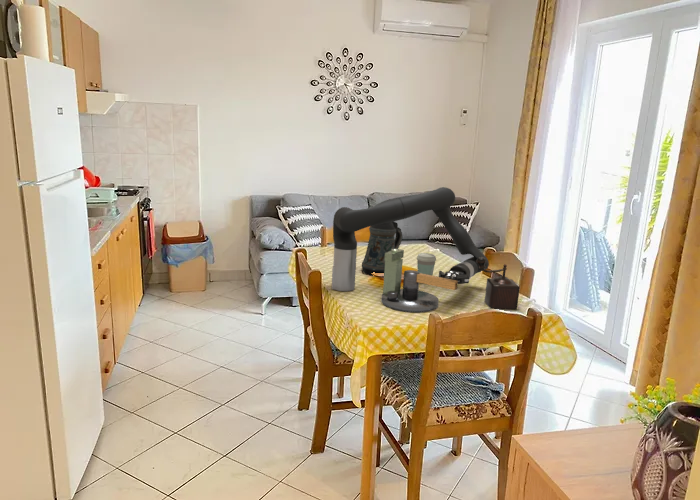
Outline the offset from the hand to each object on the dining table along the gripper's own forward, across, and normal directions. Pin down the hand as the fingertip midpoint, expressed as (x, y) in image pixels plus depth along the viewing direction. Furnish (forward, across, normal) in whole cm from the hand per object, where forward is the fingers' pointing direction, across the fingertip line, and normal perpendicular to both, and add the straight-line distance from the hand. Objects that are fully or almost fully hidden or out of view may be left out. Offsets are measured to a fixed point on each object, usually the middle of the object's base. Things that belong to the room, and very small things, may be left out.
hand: (444, 282), depth 198 cm
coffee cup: (-29, -21, +11) cm, 38 cm away
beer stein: (-30, -44, +11) cm, 54 cm away
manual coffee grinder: (-19, +14, +11) cm, 26 cm away
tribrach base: (+2, -13, +11) cm, 17 cm away
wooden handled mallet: (+2, -6, +8) cm, 10 cm away
